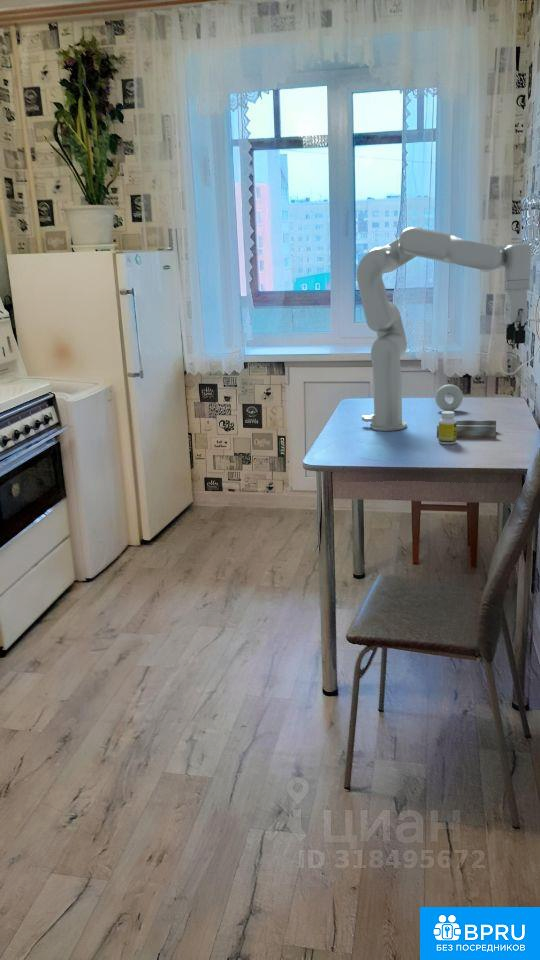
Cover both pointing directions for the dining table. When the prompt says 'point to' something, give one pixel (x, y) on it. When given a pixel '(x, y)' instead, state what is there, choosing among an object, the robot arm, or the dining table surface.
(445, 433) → the supplement bottle
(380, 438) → the dining table surface
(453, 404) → the donut
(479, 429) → the track
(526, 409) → the dining table surface
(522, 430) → the dining table surface
